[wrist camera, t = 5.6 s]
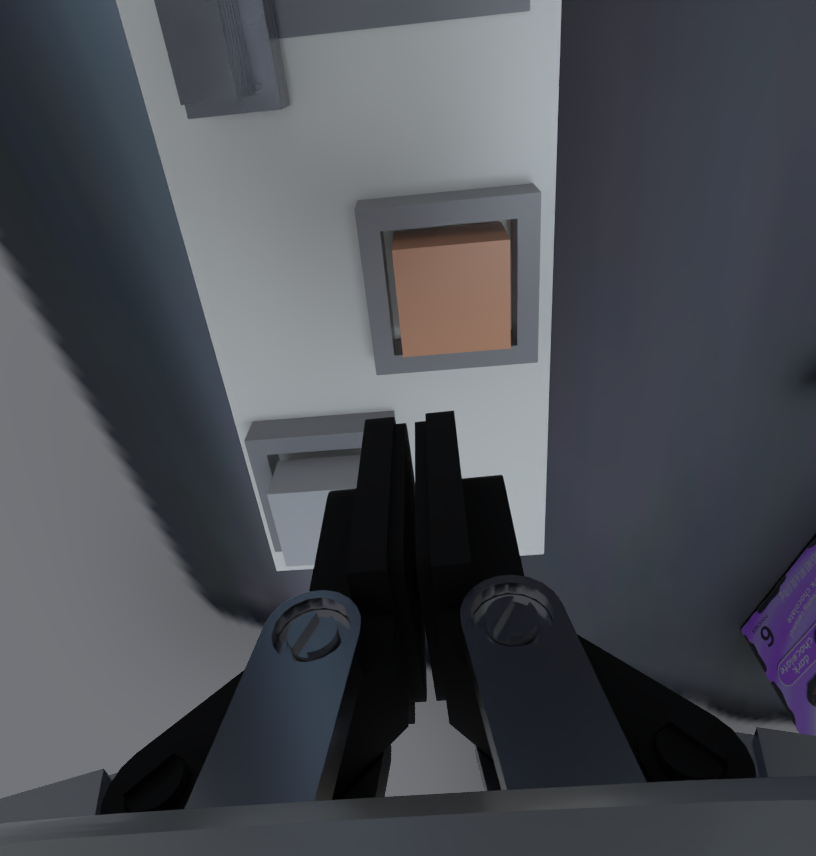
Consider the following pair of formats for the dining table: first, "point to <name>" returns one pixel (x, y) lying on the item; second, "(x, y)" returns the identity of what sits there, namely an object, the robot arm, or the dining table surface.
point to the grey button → (306, 501)
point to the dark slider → (224, 55)
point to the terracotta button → (453, 289)
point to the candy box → (790, 640)
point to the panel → (371, 227)
